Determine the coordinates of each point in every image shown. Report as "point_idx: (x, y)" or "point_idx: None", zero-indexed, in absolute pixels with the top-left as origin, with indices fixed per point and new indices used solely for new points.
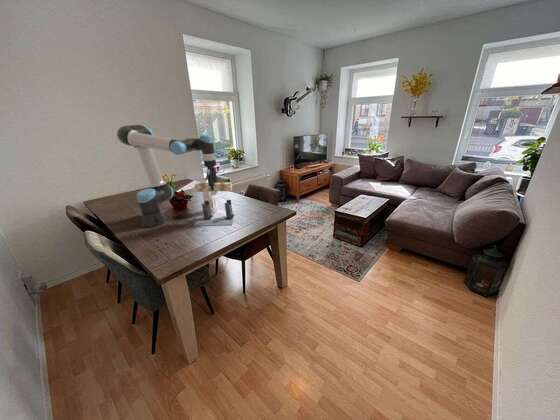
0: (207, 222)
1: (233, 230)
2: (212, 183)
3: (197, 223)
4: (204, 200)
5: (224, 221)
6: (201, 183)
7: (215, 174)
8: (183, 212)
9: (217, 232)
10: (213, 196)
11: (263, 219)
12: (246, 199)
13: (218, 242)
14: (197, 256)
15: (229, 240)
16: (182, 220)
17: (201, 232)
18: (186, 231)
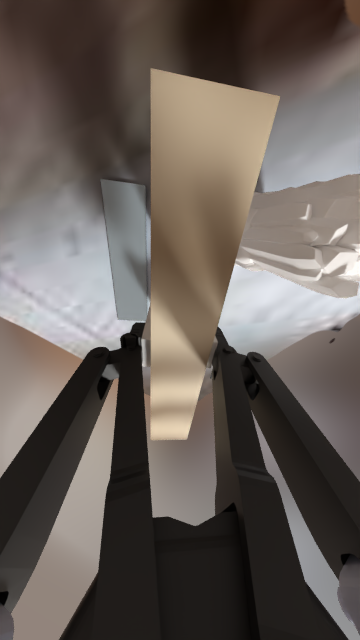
0: (130, 240)
1: (89, 326)
2: (98, 393)
3: (120, 195)
4: (254, 204)
5: (137, 298)
6: (216, 227)
7: (278, 460)
8: (288, 21)
9: (69, 288)
10: (257, 265)
11: (149, 375)
12: (295, 335)
13: (16, 301)
14: None
15: (36, 324)
16: (165, 70)
17: (57, 233)
18: (49, 155)
